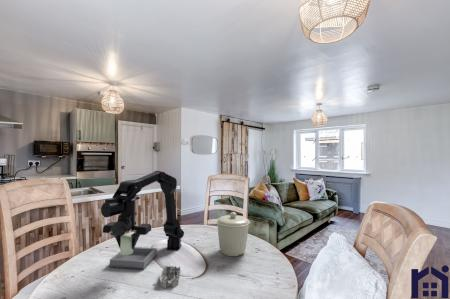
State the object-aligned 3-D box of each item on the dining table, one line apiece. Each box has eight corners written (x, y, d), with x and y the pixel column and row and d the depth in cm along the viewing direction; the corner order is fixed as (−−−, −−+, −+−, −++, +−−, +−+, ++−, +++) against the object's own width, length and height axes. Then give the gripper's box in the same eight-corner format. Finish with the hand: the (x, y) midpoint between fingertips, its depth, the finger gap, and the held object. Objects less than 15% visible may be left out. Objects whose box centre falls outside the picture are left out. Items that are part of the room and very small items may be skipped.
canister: (231, 264, 103) (232, 219, 103) (208, 250, 117) (209, 211, 117) (256, 253, 115) (257, 213, 115) (233, 242, 129) (233, 206, 129)
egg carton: (177, 288, 84) (178, 277, 84) (158, 288, 84) (158, 277, 84) (181, 273, 95) (182, 263, 95) (164, 273, 94) (164, 263, 94)
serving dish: (156, 255, 110) (156, 248, 110) (143, 269, 96) (144, 261, 96) (126, 253, 112) (126, 246, 112) (109, 267, 98) (109, 259, 98)
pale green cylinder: (135, 250, 94) (135, 233, 94) (129, 255, 89) (129, 238, 89) (124, 249, 94) (124, 233, 94) (117, 254, 89) (118, 237, 89)
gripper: (93, 215, 85) (92, 256, 84) (139, 218, 83) (138, 259, 83) (111, 208, 96) (110, 244, 95) (152, 210, 94) (151, 246, 94)
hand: (126, 248), depth 92 cm, fingers closed on pale green cylinder, 5 cm apart
